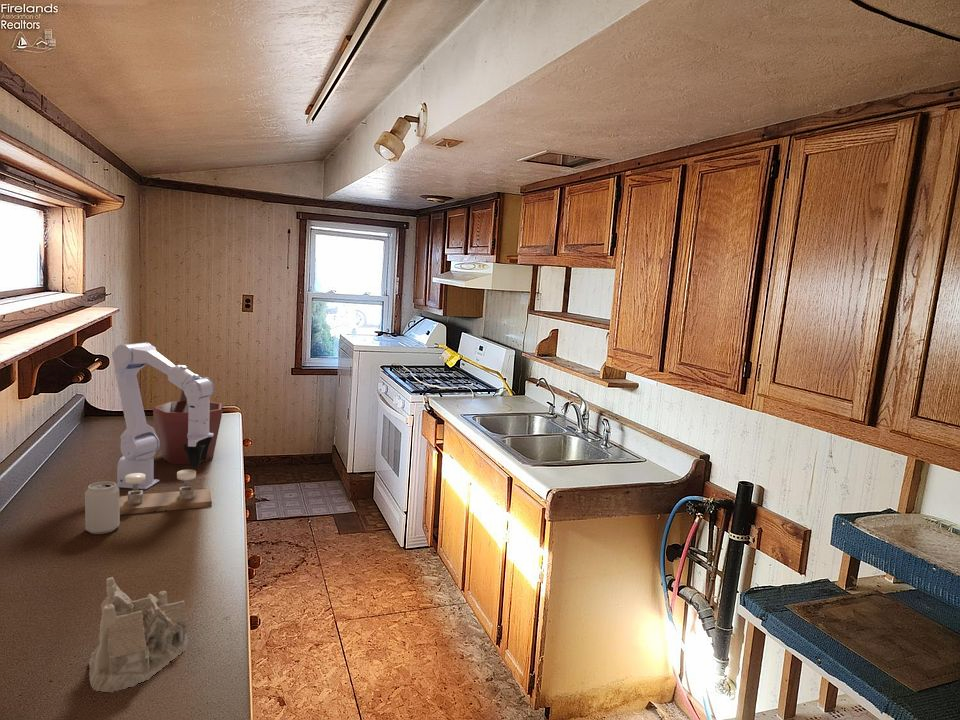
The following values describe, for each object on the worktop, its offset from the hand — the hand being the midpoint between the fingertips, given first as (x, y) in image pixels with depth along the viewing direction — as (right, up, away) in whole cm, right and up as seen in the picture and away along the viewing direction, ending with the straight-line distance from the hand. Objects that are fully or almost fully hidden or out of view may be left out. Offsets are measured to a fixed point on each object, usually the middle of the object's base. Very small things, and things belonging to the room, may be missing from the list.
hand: (198, 463), depth 183 cm
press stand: (-8, -11, -7) cm, 15 cm away
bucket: (-21, -4, +37) cm, 43 cm away
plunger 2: (-1, -6, -4) cm, 7 cm away
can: (-13, -13, -25) cm, 31 cm away
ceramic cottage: (+24, -22, -75) cm, 82 cm away
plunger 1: (-13, -6, -10) cm, 18 cm away
